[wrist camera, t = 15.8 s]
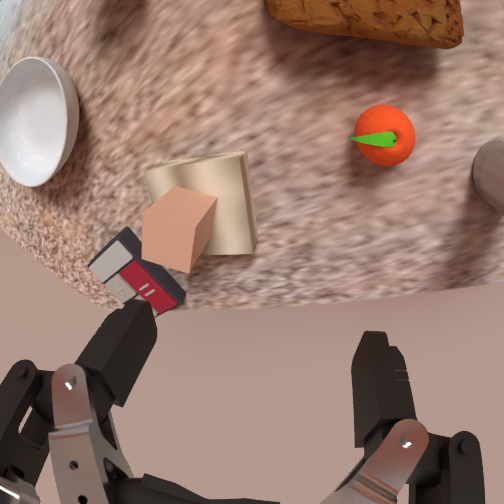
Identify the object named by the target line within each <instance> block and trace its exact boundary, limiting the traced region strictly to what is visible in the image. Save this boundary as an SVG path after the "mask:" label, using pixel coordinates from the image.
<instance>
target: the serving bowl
mask: <svg viewBox="0 0 504 504" xmlns="http://www.w3.org/2000/svg"><path fill="white" fill-rule="evenodd" d="M78 126H79V103H78V97H77V93H76V89H75V86H74V84H73V82H72V80H71V78H70V76H69V75H68V73H67V72H66V71H65V69H64V68H63V67H62V66H60V65H59V64H58V63H56V62H54V61H52V60H50V59H47V58H43V57H34V56H33V57H26V58H24V59H22V60H20V61H18V62H17V63H16V64H14V65H13V66H12V67H11V68H10V70H9V71H8V72H7V73H6V75H5V76H4V78H3V80H2V82H1V84H0V162H1V164H2V166H3V167H4V169H5V170H6V172H7V173H8V174H9V176H10V177H11V178H12V179H13V180H15V181H16V182H18V183H19V184H21V185H23V186H26V187H37V186H40V185H42V184H44V183H46V182H47V181H48V180H50V179H51V178H52V177H53V176H54V175H55V174H56V173H57V172H58V171H59V170H60V169H61V168H62V167H63V165H64V164H65V162H66V161H67V159H68V157H69V155H70V154H71V151H72V149H73V146H74V144H75V140H76V137H77V132H78Z"/></svg>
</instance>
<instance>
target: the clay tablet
mask: <svg viewBox="0 0 504 504" xmlns="http://www.w3.org/2000/svg"><path fill="white" fill-rule="evenodd" d="M264 5H265V7H267V8H268V11H269V14H270V16H271V17H273V18H275V20H277V21H279V22H281V23H283V24H285V25H287V26H291V27H294V28H296V29H298V30H301V31H307V32H312V33H319V34H329V35H342V36H354V37H361V38H368V39H376V40H384V41H390V42H395V43H399V44H405V45H416V46H424V47H431V48H442V49H450V48H454V47H456V46H458V45H459V44H461V43H462V38H461V37H463V36H464V31H463V19H462V15H461V6H460V0H264Z"/></svg>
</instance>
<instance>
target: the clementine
mask: <svg viewBox="0 0 504 504" xmlns="http://www.w3.org/2000/svg"><path fill="white" fill-rule="evenodd" d="M348 138H349V139H352V140H354V141H356V142H357V145H358V147H359V149H360V151H361V152H362V153H363V155H364V156H365V157H366V158H368V159H369V160H370V161H372V162H374V163H376V164H379V165H382V166H393V165H397V164H399V163H402V162H403V161H404V160H406V159H407V158H408V157H409V155H410V154H411V152H412V151H413V148H414V145H415V132H414V128H413V125H412V123H411V121H410V120H409V119H408V117H407V116H406V115H405V114H404V113H402V112H401V111H400V110H398V109H397V108H394V107H392V106H388V105H377V106H373V107H371V108H369V109H367V110H366V111H365V112H363V113H362V114H361V116H360V117H359V119H358V120H357V123H356V127H355V137H348Z"/></svg>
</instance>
